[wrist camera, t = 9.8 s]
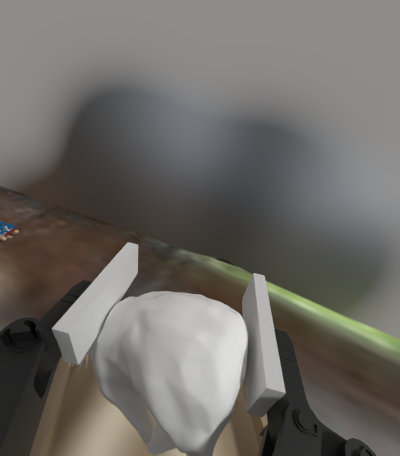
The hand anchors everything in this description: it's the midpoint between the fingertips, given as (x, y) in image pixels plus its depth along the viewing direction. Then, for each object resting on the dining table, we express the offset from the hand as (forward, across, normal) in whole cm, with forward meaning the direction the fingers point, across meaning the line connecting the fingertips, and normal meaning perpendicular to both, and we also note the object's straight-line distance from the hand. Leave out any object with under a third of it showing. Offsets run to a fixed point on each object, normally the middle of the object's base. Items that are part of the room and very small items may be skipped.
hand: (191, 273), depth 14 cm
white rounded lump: (-4, -2, -7) cm, 8 cm away
